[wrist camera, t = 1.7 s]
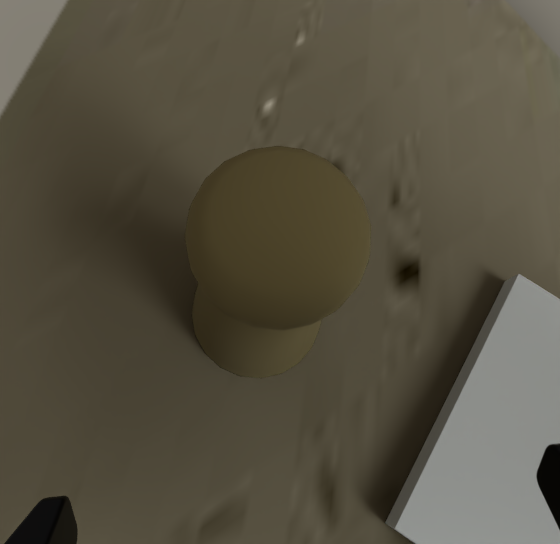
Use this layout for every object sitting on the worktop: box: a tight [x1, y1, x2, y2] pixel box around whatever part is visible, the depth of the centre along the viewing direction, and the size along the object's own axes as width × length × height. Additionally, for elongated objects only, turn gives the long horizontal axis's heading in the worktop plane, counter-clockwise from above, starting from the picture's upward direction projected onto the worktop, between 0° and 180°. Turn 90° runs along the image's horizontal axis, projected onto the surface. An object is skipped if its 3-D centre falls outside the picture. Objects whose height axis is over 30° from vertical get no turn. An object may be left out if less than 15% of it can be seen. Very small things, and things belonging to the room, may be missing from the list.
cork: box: [185, 146, 371, 378], centre depth 17 cm, size 6×6×11 cm
